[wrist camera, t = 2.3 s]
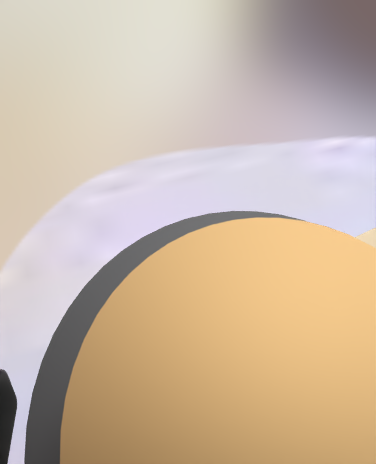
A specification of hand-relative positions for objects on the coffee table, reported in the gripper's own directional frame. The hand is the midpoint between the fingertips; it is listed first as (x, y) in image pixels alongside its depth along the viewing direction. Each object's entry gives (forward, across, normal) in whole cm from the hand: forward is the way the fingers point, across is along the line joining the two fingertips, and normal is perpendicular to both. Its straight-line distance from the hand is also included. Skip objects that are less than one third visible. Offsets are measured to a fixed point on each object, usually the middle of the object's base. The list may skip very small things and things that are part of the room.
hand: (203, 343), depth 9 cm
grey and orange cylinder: (+4, 0, +6) cm, 7 cm away
